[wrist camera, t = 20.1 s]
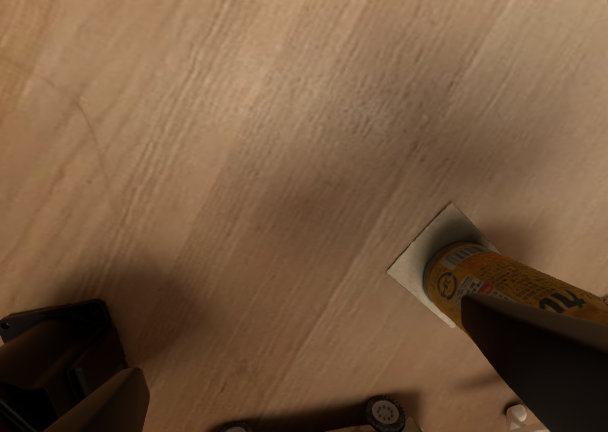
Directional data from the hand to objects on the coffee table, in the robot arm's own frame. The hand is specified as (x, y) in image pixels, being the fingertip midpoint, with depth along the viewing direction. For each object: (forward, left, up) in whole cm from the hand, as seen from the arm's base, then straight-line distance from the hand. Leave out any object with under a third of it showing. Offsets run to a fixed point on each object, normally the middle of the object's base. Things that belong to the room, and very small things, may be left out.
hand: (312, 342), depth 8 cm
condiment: (+13, -6, -13) cm, 20 cm away
